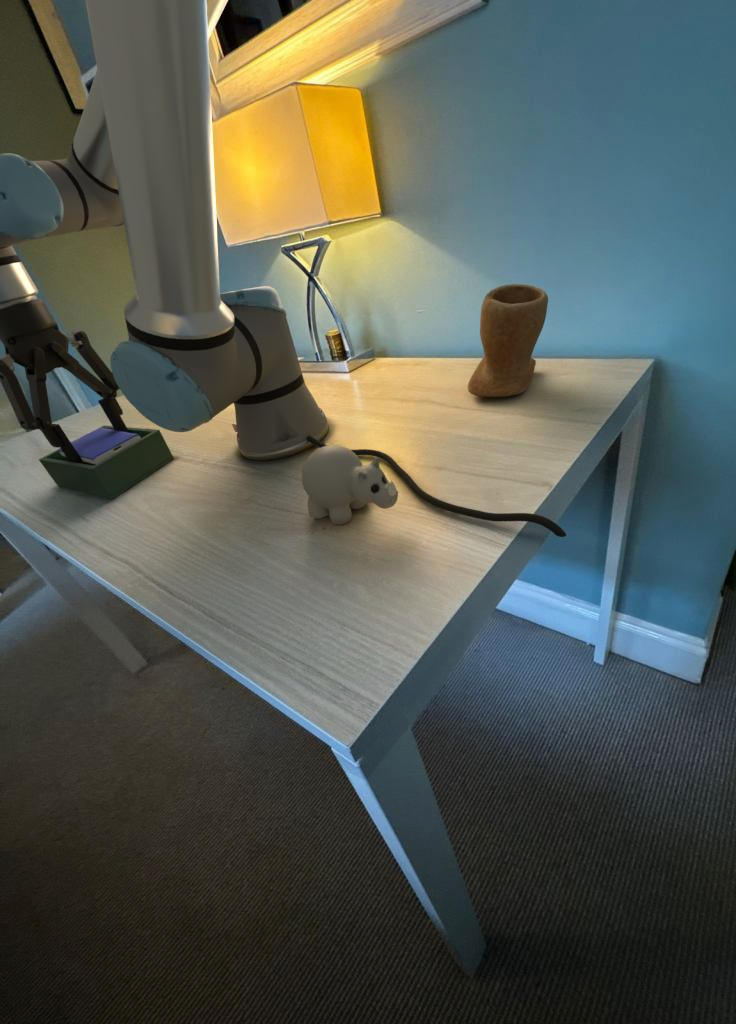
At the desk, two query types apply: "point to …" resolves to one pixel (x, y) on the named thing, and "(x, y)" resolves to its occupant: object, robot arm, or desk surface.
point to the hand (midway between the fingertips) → (101, 447)
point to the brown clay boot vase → (508, 339)
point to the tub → (111, 466)
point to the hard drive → (101, 444)
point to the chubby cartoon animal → (344, 484)
